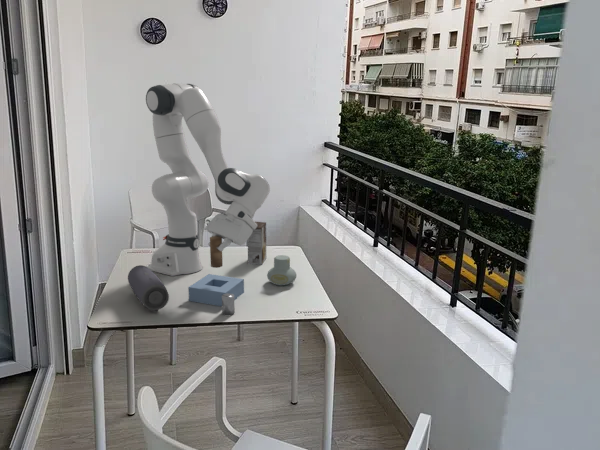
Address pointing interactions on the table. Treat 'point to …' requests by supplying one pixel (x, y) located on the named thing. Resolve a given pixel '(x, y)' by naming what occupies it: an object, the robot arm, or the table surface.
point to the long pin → (215, 252)
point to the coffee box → (257, 244)
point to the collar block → (215, 289)
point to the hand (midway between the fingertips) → (214, 248)
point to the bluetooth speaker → (148, 288)
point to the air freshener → (281, 271)
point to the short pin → (228, 304)
